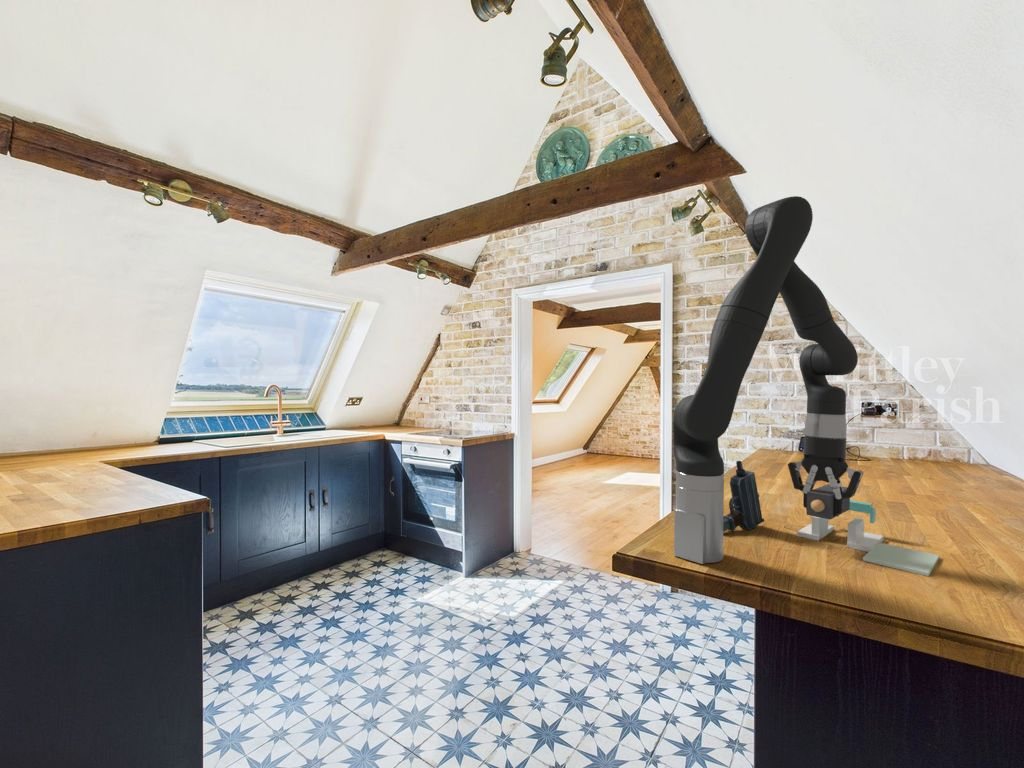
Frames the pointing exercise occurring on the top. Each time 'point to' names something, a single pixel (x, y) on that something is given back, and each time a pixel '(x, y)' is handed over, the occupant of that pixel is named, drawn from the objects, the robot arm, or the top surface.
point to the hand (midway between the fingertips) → (822, 512)
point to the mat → (902, 558)
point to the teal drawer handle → (864, 509)
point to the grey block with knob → (824, 502)
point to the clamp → (855, 533)
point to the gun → (743, 501)
